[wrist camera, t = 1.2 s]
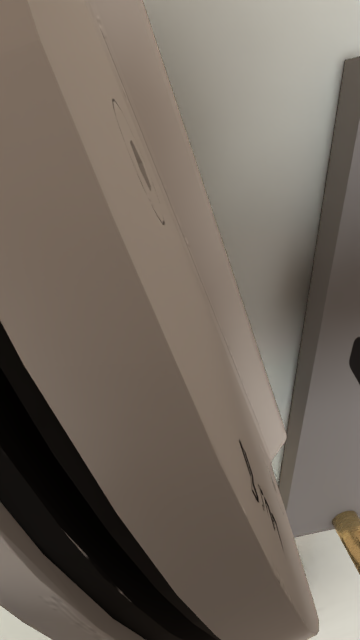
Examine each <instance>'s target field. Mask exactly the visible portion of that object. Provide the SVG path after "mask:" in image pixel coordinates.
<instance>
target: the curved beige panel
mask: <svg viewBox="0 0 360 640" xmlns="http://www.w3.org/2000/svg"><path fill="white" fill-rule="evenodd" d="M286 438H287V434H286V431H285V428H284V425H283V422H282V419H281V416H280V413H279V410H278V407H277V404H276V401H275V398H274V395H273V392H272V389H271V386H270V383H269V380H268V377H267V374H266V371H265V368H264V365H263V362H262V359H261V356H260V353H259V350H258V347H257V344H256V341H255V338H254V335H253V332H252V329H251V326H250V323H249V320H248V317H247V314H246V311H245V308H244V304H243V301H242V298H241V295H240V292H239V289H238V286H237V283H236V280H235V277H234V274H233V271H232V268H231V265H230V262H229V259H228V256H227V253H226V250H225V247H224V244H223V241H222V238H221V235H220V232H219V229H218V226H217V223H216V220H215V217H214V214H213V211H212V208H211V205H210V202H209V199H208V196H207V193H206V190H205V187H204V184H203V181H202V178H201V175H200V172H199V169H198V166H197V163H196V160H195V157H194V154H193V151H192V148H191V145H190V142H189V139H188V136H187V133H186V130H185V127H184V124H183V121H182V118H181V115H180V112H179V109H178V106H177V103H176V100H175V97H174V94H173V91H172V88H171V85H170V82H169V79H168V76H167V73H166V70H165V67H164V64H163V61H162V58H161V55H160V52H159V49H158V46H157V43H156V40H155V37H154V34H153V31H152V28H151V24H150V21H149V18H148V15H147V12H146V9H145V6H144V3H143V0H0V605H1V606H2V607H3V608H5V609H6V610H7V611H9V612H10V613H11V614H13V615H14V616H15V617H17V618H18V619H20V620H21V621H22V622H24V623H25V624H27V625H29V626H30V627H32V628H34V629H36V630H37V631H39V632H41V633H42V634H44V635H46V636H47V637H49V638H51V639H52V640H307V639H309V638H311V637H313V636H315V635H317V633H318V632H319V619H318V615H317V612H316V608H315V605H314V601H313V598H312V594H311V591H310V588H309V585H308V582H307V578H306V575H305V572H304V569H303V566H302V562H301V559H300V556H299V553H298V549H297V546H296V543H295V540H294V537H293V533H292V530H291V527H290V524H289V521H288V517H287V514H286V511H285V508H284V504H283V501H282V498H281V495H280V492H279V488H278V485H277V482H276V479H275V476H274V472H273V469H272V465H271V463H272V460H273V458H274V457H275V455H276V454H277V452H278V451H279V450H280V448H281V447H282V445H283V444H284V443H285V441H286Z"/></svg>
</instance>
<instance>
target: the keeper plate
mask: <svg viewBox="0 0 360 640" xmlns="http://www.w3.org/2000/svg"><path fill="white" fill-rule="evenodd" d="M357 337H360V57H356V58H352V59H348V60H345V65H344V71H343V78H342V84H341V90H340V97H339V103H338V110H337V116H336V122H335V129H334V135H333V142H332V148H331V154H330V161H329V167H328V174H327V180H326V186H325V193H324V199H323V206H322V212H321V218H320V225H319V231H318V238H317V244H316V251H315V257H314V263H313V270H312V276H311V283H310V289H309V295H308V302H307V308H306V315H305V321H304V327H303V334H302V340H301V347H300V353H299V359H298V366H297V372H296V379H295V385H294V391H293V398H292V404H291V411H290V417H289V424H288V430H287V438H286V443H285V449H284V456H283V462H282V468H281V475H280V481H279V492H280V495H281V498H282V501H283V504H284V508H285V511H286V514H287V517H288V521H289V524H290V527H291V530H292V533H293V537H299V536H303V535H308V534H313V533H317V532H322V531H326V530H331V529H335V530H336V532H337V533H338V535H339V537H340V539H341V541H342V543H343V545H344V546H345V548H346V550H347V552H348V554H349V556H350V557H351V559H352V561H353V563H354V565H355V567H356V568H357V570H358V572H359V574H360V385H359V383H358V381H357V379H356V378H355V376H354V374H353V372H352V371H351V369H350V366H349V358H350V354H351V350H352V346H353V342H354V340H355V339H356V338H357Z"/></svg>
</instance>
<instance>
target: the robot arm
mask: <svg viewBox="0 0 360 640" xmlns="http://www.w3.org/2000/svg"><path fill="white" fill-rule="evenodd" d="M349 366H350V369H351V371H352V372H353V374H354V376H355V378H356V379H357V381H358V383H359V385H360V337H357V338H356V339H355V340H354V342H353V346H352V350H351V354H350V358H349Z"/></svg>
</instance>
